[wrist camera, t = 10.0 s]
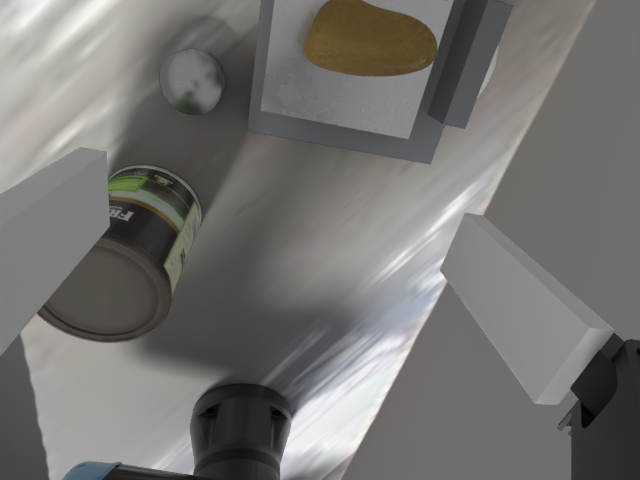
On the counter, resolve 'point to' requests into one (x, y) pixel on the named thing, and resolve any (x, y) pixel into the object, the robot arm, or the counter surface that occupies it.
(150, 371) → the counter surface
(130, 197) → the coffee can
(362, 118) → the platform
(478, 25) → the scale base
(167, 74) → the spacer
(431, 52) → the potato
